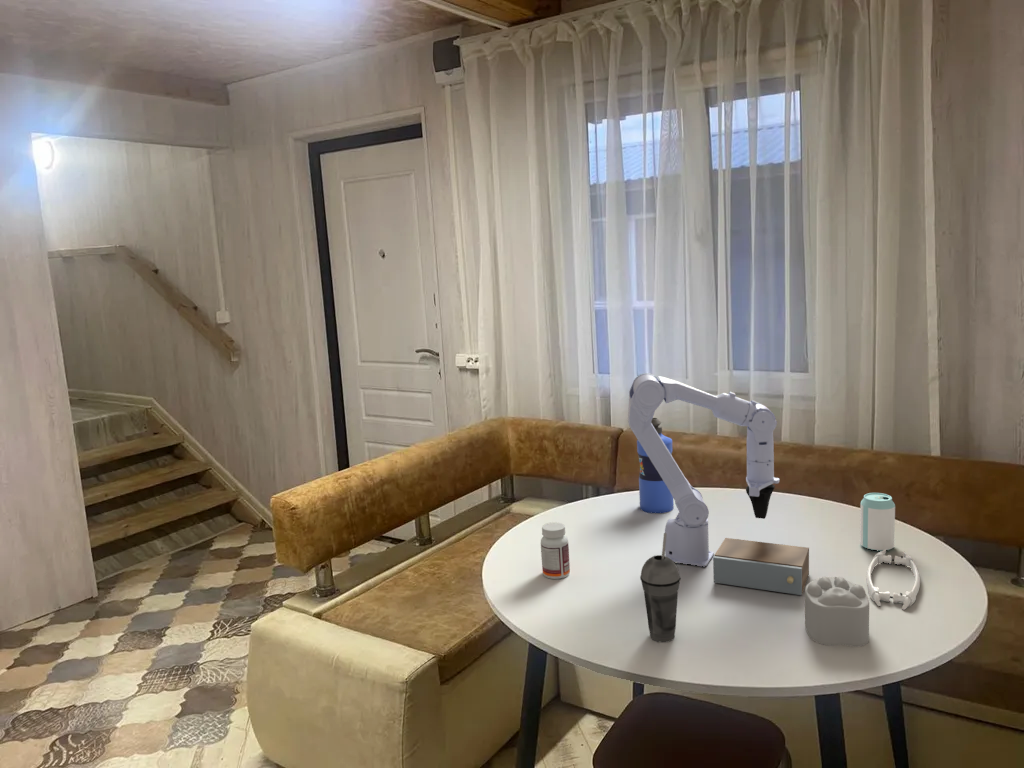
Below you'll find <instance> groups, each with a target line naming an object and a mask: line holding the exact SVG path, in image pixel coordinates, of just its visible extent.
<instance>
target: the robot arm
mask: <svg viewBox="0 0 1024 768" xmlns="http://www.w3.org/2000/svg"><path fill="white" fill-rule="evenodd" d="M628 396H629V397H628V414H627V416H628V417H627V421H628V425H629V428H630V430H631V431H632V433H633V435H634V436H635V438H636V439H637V440H638V441H639V442H640V444H641V446H642V447H643V449H644V450H645V452H646V454H647V455H648V457H649V458H650V460H651V462H652V463H653V465H654V466H655V468H656V470H657V471H658V473H659V474H660V476H661V478H662V479H663V481H664V482H665V484H666V486H667V487H668V489H669V490H670V492H671V494H672V496H673V501H674V502H675V503H674V504H675V506H676V508H677V511H678V513H677V514H676V517H675V518H669V519H668V520H667V521H666V524H665V528H664V533H667V535H666V546H665V556H666V557H668V558H670V559H671V560H672V561H673V562H677V563H676V564H680V563H683V564H682V565H687V564H691V565H690V566H695V565H697V566H696V567H702V566H703V568H705V566H706V567H707V566H708V564H709V563H710V561H711V559H713V557H714V556H715V552H714V551H711V550H710V549H709V548H710V547H709V546H710V545H709V544H710V543H709V514H710V511H709V510H710V509H709V508H708V505H707V504H706V502H705V501H704V498H703V495H702V493H701V492H700V490H699V489H697V488H695V487H693V486H692V485H691V483H690V482H689V480H688V479H687V478H686V477H685V475H684V472H683V471H682V470H681V469H680V467H679V465H678V463H677V461H676V460H675V458H674V457H673V455H671V454H670V452H669V450H668V449H667V447H666V446H665V444H664V442H663V441H662V439H661V437H660V436H659V434H658V433H657V431H656V429H655V428H654V426H653V425H652V423H651V421H652V418H654V415H655V412H656V411H657V409H658V408H660V406H661V404H662V402H663V401H664V402H665V404H669V403H672V402H675V401H682V402H686V403H689V404H691V405H694V406H698V407H701V408H704V409H709V410H711V412H712V415H713V417H714V418H717V419H720V420H723V421H726V422H728V423H732V424H734V425H737V426H739V427H746V476H745V481H746V484H747V486H746V487H745V493H746V494H747V496H748V497H749V500H750V502H751V506H752V510H753V514H754V516H755V519H761V520H762V519H764V520H765V519H766V517H767V516H768V515H767V514H768V510H769V504H770V500H771V496H772V495H773V494H772V493H773V491H774V490H775V488H776V484H779V483H780V478H779V477H775V464H774V463H775V456H774V454H775V452H774V451H775V449H774V448H775V446H774V445H775V444H774V441H775V440H774V431H775V429H776V428H777V425H778V421H777V420H776V419H777V418H776V416H775V413H773V411H771V410H770V409H769V408H768V407H767V406H766V405H765V404H762V403H761V402H757V401H756V400H754V399H753V400H752V399H751V400H746V399H743V398H740V397H738V396H737V394H736V393H735V392H732V391H729V392H728V393H726V392H722V393H720V394H719V393H718V394H717V395H715V394H712V393H708V392H706V391H704V390H701V389H698V388H696V387H693V386H691V385H689V384H686V383H683V382H681V381H678V380H675V379H671V378H668V377H665V376H660V375H658V376H656V375H654V374H652V373H649V372H648V373H647V372H644V373H641V374H639V375H637V376H636V377H635V378H634V380H633V381H632V384H631V385H630V388H629V390H628Z"/></svg>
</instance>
